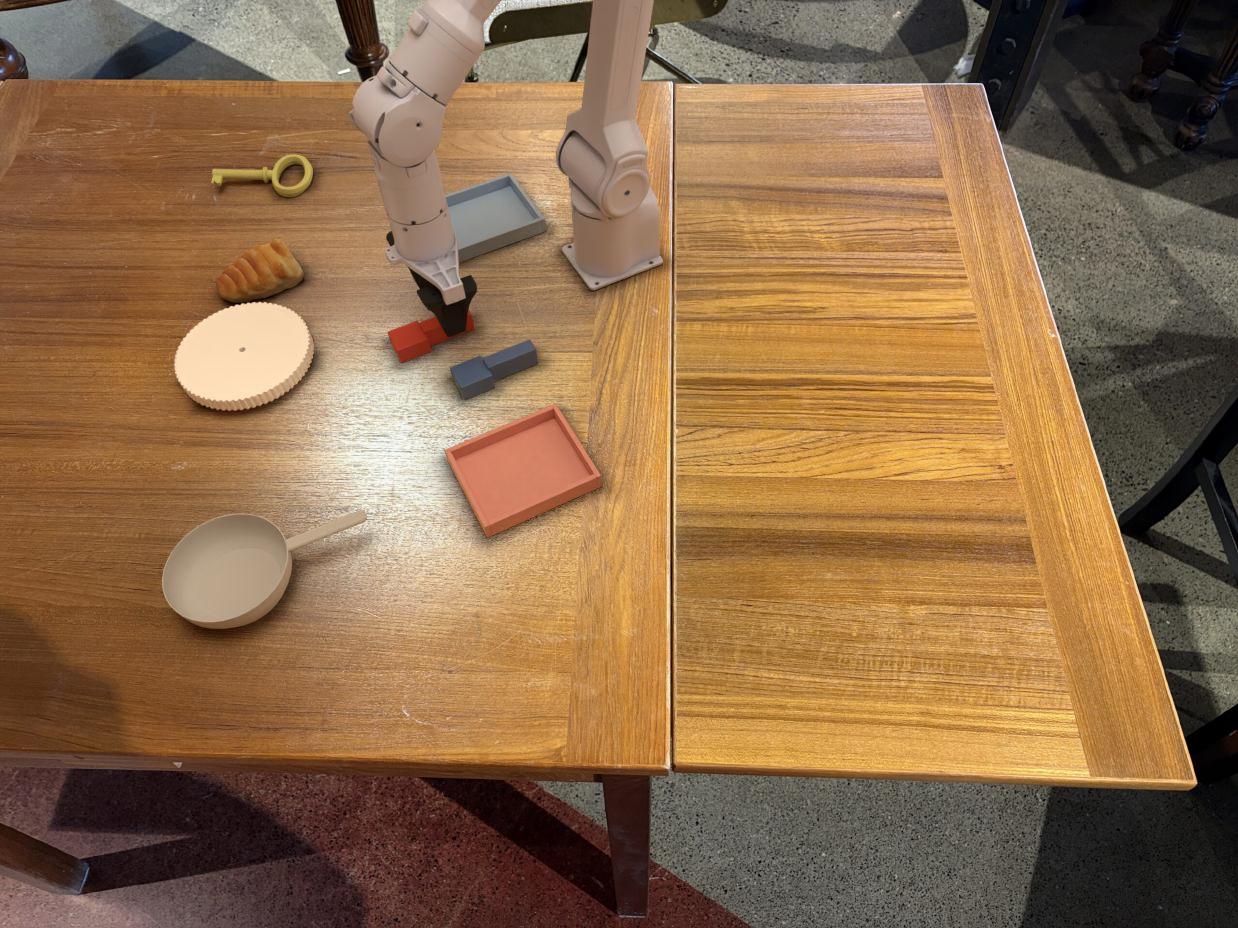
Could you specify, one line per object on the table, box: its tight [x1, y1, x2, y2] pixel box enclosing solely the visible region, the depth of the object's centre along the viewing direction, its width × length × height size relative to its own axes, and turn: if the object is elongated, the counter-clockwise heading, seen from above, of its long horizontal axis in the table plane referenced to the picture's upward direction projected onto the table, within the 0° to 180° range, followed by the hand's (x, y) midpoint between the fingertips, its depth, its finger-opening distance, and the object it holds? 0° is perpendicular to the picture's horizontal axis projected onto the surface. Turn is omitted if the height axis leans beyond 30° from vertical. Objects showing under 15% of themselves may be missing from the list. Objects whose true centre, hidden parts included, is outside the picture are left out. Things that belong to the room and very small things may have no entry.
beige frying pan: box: [161, 509, 368, 630], centre depth 80 cm, size 11×18×4 cm, turn 114°
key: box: [210, 153, 314, 198], centre depth 113 cm, size 7×12×2 cm, turn 112°
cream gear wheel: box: [173, 301, 315, 412], centre depth 95 cm, size 14×14×2 cm
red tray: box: [444, 403, 603, 539], centre depth 86 cm, size 12×10×2 cm
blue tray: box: [445, 172, 547, 264], centre depth 108 cm, size 12×10×2 cm
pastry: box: [216, 238, 305, 304], centre depth 102 cm, size 9×7×4 cm
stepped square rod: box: [449, 339, 539, 401], centre depth 94 cm, size 9×3×2 cm, turn 118°
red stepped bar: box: [387, 309, 476, 364], centre depth 97 cm, size 9×3×2 cm, turn 118°
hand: (442, 309), depth 95 cm, fingers open, 7 cm apart
